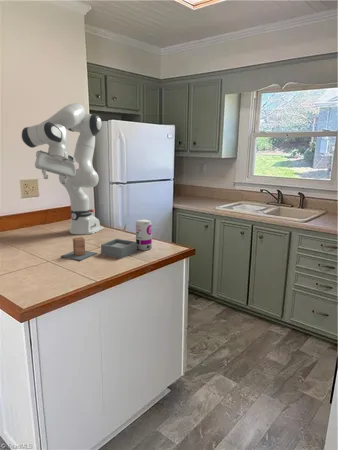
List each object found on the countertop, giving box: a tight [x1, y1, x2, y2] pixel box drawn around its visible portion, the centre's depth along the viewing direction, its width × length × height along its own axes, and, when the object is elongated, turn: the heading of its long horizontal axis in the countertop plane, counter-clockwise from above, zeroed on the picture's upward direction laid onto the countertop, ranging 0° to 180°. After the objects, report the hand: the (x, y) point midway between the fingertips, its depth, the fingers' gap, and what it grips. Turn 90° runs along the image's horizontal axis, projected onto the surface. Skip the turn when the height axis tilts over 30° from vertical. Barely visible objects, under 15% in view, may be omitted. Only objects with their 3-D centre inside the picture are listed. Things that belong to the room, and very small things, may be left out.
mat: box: [60, 250, 98, 262], centre depth 163 cm, size 12×12×1 cm
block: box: [72, 236, 86, 256], centre depth 162 cm, size 4×4×8 cm
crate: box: [100, 238, 138, 259], centre depth 167 cm, size 13×13×6 cm
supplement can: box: [135, 218, 153, 251], centre depth 174 cm, size 8×8×15 cm
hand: (54, 181), depth 164 cm, fingers open, 8 cm apart
